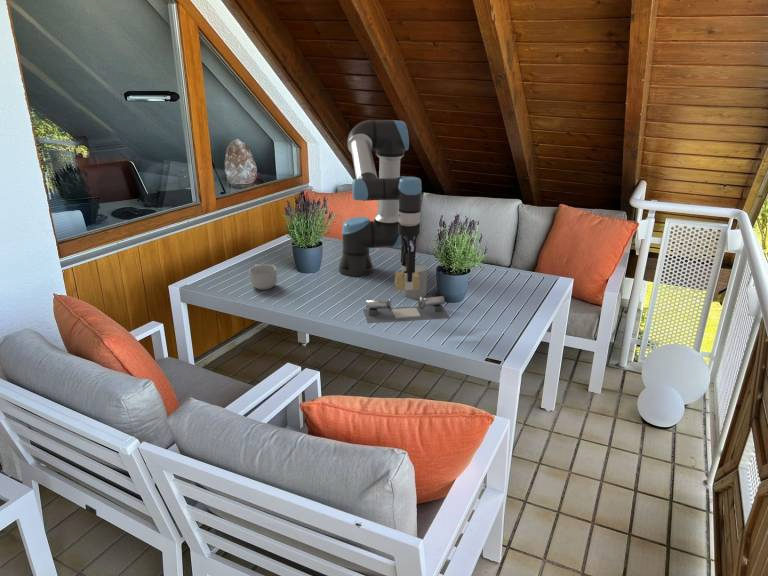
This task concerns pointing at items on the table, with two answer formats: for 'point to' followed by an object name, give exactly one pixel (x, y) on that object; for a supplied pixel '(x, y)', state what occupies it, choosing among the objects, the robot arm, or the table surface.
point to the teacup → (263, 276)
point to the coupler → (401, 281)
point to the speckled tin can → (422, 283)
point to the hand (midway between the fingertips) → (407, 286)
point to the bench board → (389, 316)
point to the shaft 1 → (377, 306)
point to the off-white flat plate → (406, 312)
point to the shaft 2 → (432, 303)
